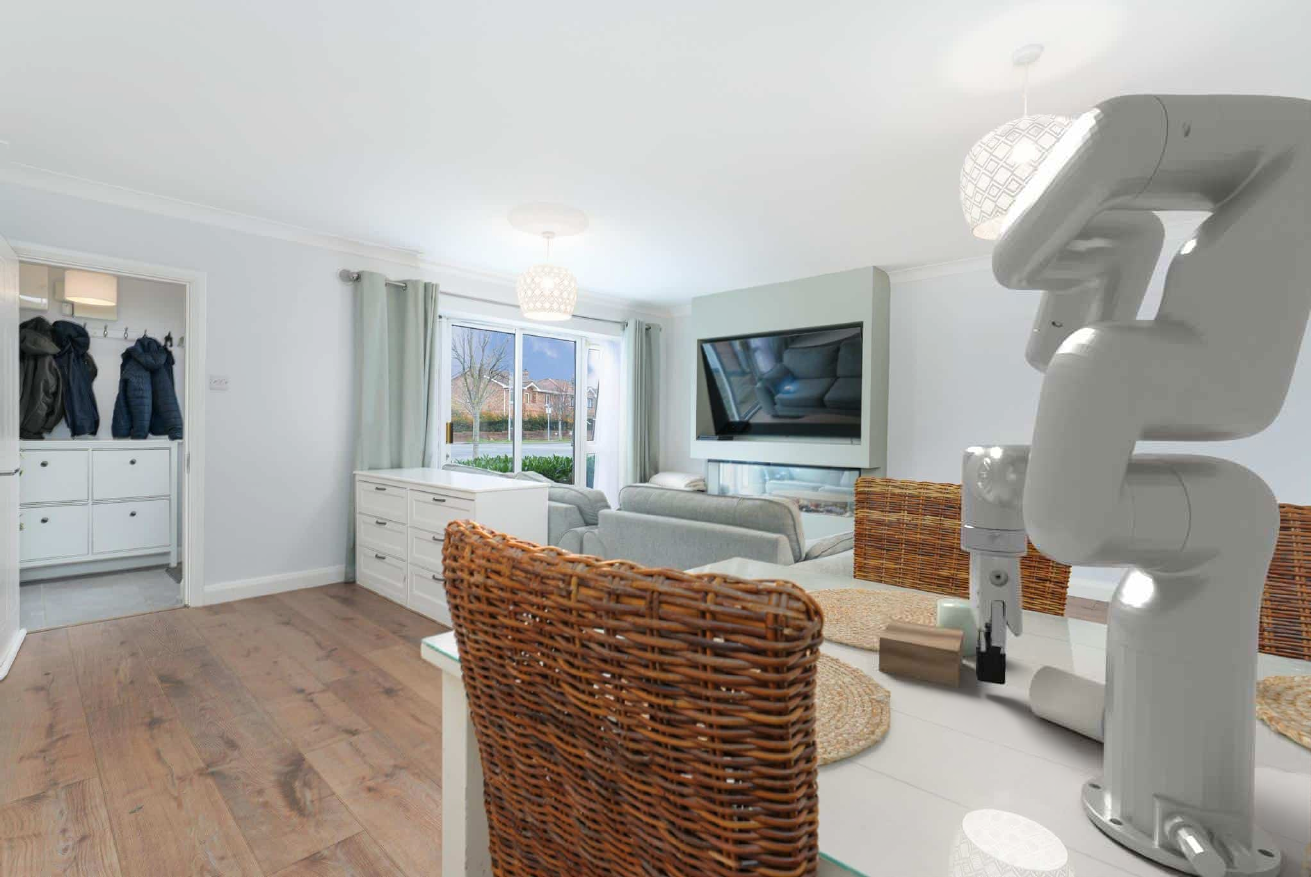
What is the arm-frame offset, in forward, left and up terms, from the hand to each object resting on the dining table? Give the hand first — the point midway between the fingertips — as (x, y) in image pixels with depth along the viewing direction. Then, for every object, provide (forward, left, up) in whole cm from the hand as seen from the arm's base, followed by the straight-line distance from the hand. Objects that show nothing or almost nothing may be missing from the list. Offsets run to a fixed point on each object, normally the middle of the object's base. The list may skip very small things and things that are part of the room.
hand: (990, 680), depth 78 cm
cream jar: (-5, -5, +1) cm, 7 cm away
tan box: (+6, +8, -2) cm, 10 cm away
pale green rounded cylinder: (+17, +2, -2) cm, 17 cm away
